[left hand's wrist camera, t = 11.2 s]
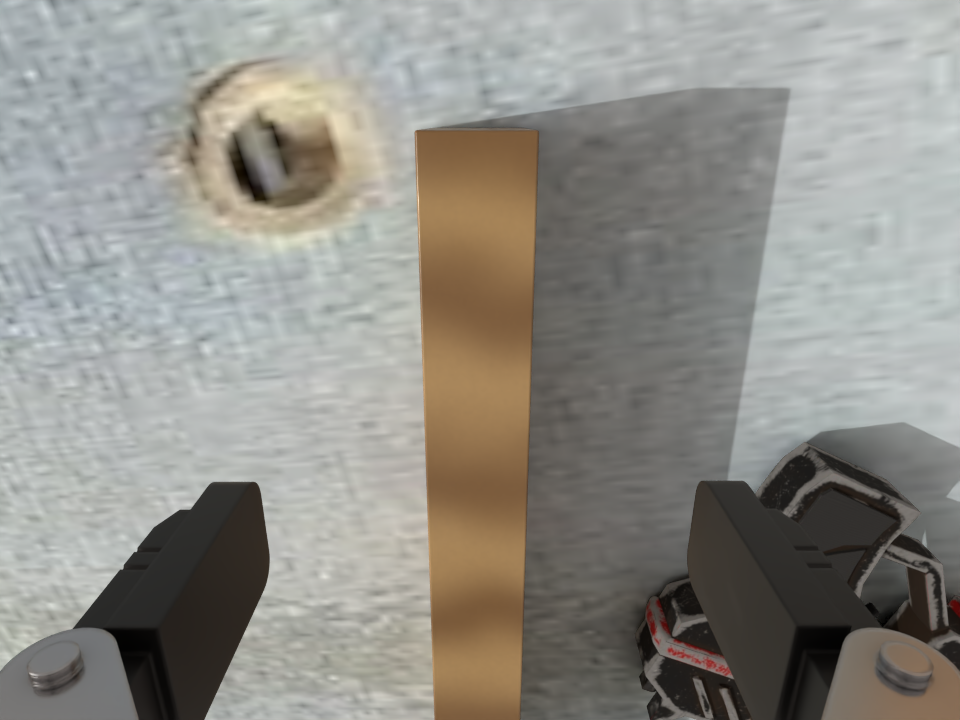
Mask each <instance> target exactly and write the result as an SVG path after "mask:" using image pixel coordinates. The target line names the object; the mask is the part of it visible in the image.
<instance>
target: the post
mask: <svg viewBox="0 0 960 720" xmlns="http://www.w3.org/2000/svg"><path fill="white" fill-rule="evenodd" d="M538 151H539V131H537V130H532V129H526V128H429V129H422V130H416V131H415V155H416V185H417V214H418V244H419V273H420V303H421V332H422V362H423V391H424V421H425V450H426V480H427V509H428V539H429V568H430V598H431V628H432V657H433V687H434V716H435V720H520V715H521V683H522V652H523V621H524V589H525V558H526V527H527V495H528V464H529V433H530V401H531V370H532V339H533V307H534V276H535V245H536V213H537V182H538Z"/></svg>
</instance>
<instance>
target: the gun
mask: <svg viewBox="0 0 960 720" xmlns="http://www.w3.org/2000/svg"><path fill="white" fill-rule="evenodd" d="M755 495H756V496H757V498H758V499H759V500H760V502H761V503H762V504H763V506H764V507H765V508H766V509H778V510H779V511H781V512H782V513H784V514H785V515H786V516H788V517H789V518H791V519H792V520H794V521H795V522H797V523H798V524H800V525H801V526H802V527H803V528H804V529H805V531H806V532H807V533H808V534H809V536H810V537H811V538H812V539H813V541H814V542H815V543H816V544H817V546H818V550H819V551H822V552H823V553H824V554H825V556H826V557H827V558H828V560H829V561H830V562H831V563H832V568H836V570H837V571H838V572H839V573H840V575H841V576H842V577H843V578H844V580H845V581H846V582H847V583H848V585H849V586H850V587H851V588H852V590H853V591H854V592H855V593H856V595H857V596H858V597H859V598H860V596H861V592H862V587H863V584H864V582H865V581H866V579H867V578H868V576H869V575H870V573H871V572H872V570H873V569H874V567H875V565H876V564H877V562H878V561H879V559H880V558H881V557H883V558H886V559H889V560H891V561H894V562H897V563H900V564H902V565H905V567H906V575H907V583H908V591H909V599H908V600H906V601H904V603H903V604H902V605H901V606H900V607H899V609H898V610H897V611H896V612H895V613H894V615H893V616H892V617H891V618H890V619H889V621H888V622H887V623H886V624H885V625H884V626H883V629H889V630H893V631H897V632H901V633H903V634H906V635H909V636H911V637H914V638H916V639H918V640H920V641H922V642H924V643H926V644H928V645H929V646H931V647H932V648H934V649H936V650H937V651H939V652H940V653H941V654H942V655H944V656H945V657H946V658H948V659H949V660H950V661H951V662H952V663H953V664H954V665H955V666H956V667H957V669H958V670H959V671H960V597H957V596H954V597H953V598H952V599H951V601H950V602H949V603H948V604H946V594H945V584H944V574H943V565H942V564H941V563H940V561H939V560H938V559H937V558H936V557H935V556H934V555H933V554H932V553H931V552H930V551H929V550H928V549H927V548H926V547H925V546H924V545H923V544H922V543H921V542H920V541H919V540H917V539H914V538H912V537H909V536H906V535H904V534H901V533H902V532H903V531H904V530H905V529H906V528H907V527H908V526H909V525H910V524H911V523H912V522H913V521H914V520H915V519H916V518H917V517H918V516H919V515H920V514H921V512H920V511H919V510H918V509H917V508H916V507H915V506H914V505H912V504H911V503H910V502H909V501H908V500H907V499H906V498H905V497H904V496H903V495H902V494H901V493H900V492H899V491H898V490H897V489H896V488H895V487H893V486H892V485H891V484H890V483H889V482H888V481H887V480H886V479H884V478H882V477H880V476H877V475H875V474H873V473H871V472H869V471H866V470H864V469H862V468H860V467H857V466H855V465H853V464H851V463H849V462H846V461H844V460H842V459H840V458H838V457H836V456H834V455H831V454H829V453H827V452H825V451H823V450H821V449H819V448H817V447H815V446H812V445H810V444H808V443H806V442H804V443H803V444H801V445H800V446H799V447H797V448H796V449H794V450H793V451H792V452H790V453H789V454H787V455H786V456H785V457H783V458H782V460H781V461H780V462H779V463H778V464H777V465H776V466H775V468H774V469H773V470H772V472H771V473H770V474H769V476H768V477H767V478H766V480H765V481H764V482H763V484H762V485H761V486H760V488H759V489H758V490H757V492H756V493H755ZM865 606H866V607H867V609H868V610H869V611H870V612H871V614H872V615H873V616H874V617H876V616H878V615H879V614H880V613H879V612H878V611H877V609H876V608H875V607H874V605H873V604H872V603H868V604H866V605H865ZM645 616H646V618H645V619H644V621H643V622H642V624H641V625H640V627H639V628H638V630H637V631H636V633H635V637H636V641H637V645H638V649H639V653H640V656H641V660H642V664H643V668H644V671H643V672H642V673H641V675H640V676H639V677H640V681H641V685H642V689H644V690H647V691H650V692H655V691H657V692H656V693H655V695H654V696H653V698H652V699H651V701H650V702H649V704H648V705H647V709H648V713H649V717H650V720H674V719H677V718H681V717H684V716H687V717H690V718H693V719H696V720H752V717H751V715H750V713H749V711H748V709H747V706H746V704H745V702H744V700H743V698H742V696H741V693H740V691H739V689H738V687H737V685H736V682H735V680H734V678H733V676H732V674H731V671H730V669H729V667H728V665H727V663H726V660H725V658H724V656H723V654H722V652H721V649H720V647H719V645H718V643H717V641H716V638H715V636H714V634H713V632H712V630H711V627H710V625H709V623H708V621H707V619H706V616H705V614H704V612H703V610H702V608H701V605H700V603H699V601H698V599H697V597H696V594H695V592H694V590H693V588H692V585H691V582H690V578H688V579H684V580H680V581H676V582H673V583H669V584H667V585H666V587H665V588H664V590H663V591H662V593H661V594H660V596H659V597H656V596H653V597H651V598H650V599H649V601H648V603H647V606H646V612H645Z"/></svg>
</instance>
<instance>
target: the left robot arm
mask: <svg viewBox="0 0 960 720" xmlns="http://www.w3.org/2000/svg"><path fill="white" fill-rule="evenodd" d="M269 562H270V557H269V547H268V540H267V533H266V526H265V519H264V512H263V505H262V498H261V492H260V488H259V486H258V484H257V483H255V482H212V483H211V484H210V485H209V486H208V487H207V488H206V490H205V491H204V492H203V494H202V495H201V496H200V498H199V499H198V500H197V502H196V503H195V504H194V506H193V507H192V509H191V510H179V511H177V512H176V513H174V514H173V515H172V516H170V517H169V518H167V519H166V520H164V521H163V522H161V523H160V524H158V525H157V526H155V527H154V528H153V529H152V531H151V532H150V533H149V534H148V536H147V537H146V538H145V539H144V541H143V542H142V543H141V544H140V546H139V547H138V550H137V552H134V553H133V554H132V556H131V557H130V558H129V559H128V561H127V562H126V563H125V564H124V568H123V570H120V571H119V572H118V573H117V574H116V576H115V577H114V578H113V579H112V580H111V582H110V583H109V584H108V585H107V587H106V588H105V589H104V590H103V592H102V593H101V594H100V595H99V597H98V598H97V599H96V600H95V602H94V603H93V604H92V605H91V607H90V608H89V609H88V610H87V612H86V613H85V614H84V615H83V617H82V618H81V619H80V620H79V622H78V623H77V624H76V625H75V627H74V628H73V629H71V630H67V631H63V632H59V633H57V634H54V635H51V636H49V637H46V638H44V639H42V640H40V641H38V642H36V643H34V644H32V645H31V646H29V647H28V648H26V649H24V650H23V651H21V652H20V653H19V654H18V655H16V656H15V657H14V658H12V659H11V660H10V661H9V662H8V663H7V664H6V665H5V666H4V667H3V669H2V670H1V671H0V720H204V719H205V717H206V715H207V712H208V710H209V708H210V706H211V704H212V702H213V699H214V697H215V695H216V693H217V691H218V689H219V686H220V684H221V682H222V680H223V678H224V676H225V673H226V671H227V669H228V667H229V665H230V663H231V660H232V658H233V656H234V654H235V652H236V649H237V647H238V645H239V643H240V641H241V639H242V636H243V634H244V632H245V630H246V628H247V626H248V623H249V621H250V619H251V617H252V615H253V613H254V610H255V608H256V606H257V604H258V602H259V600H260V597H261V595H262V593H263V591H264V588H265V586H266V583H267V578H268V573H269ZM687 564H688V573H689V578H690V582H691V585H692V588H693V590H694V592H695V594H696V597H697V599H698V601H699V603H700V605H701V608H702V610H703V612H704V614H705V616H706V619H707V621H708V623H709V625H710V627H711V630H712V632H713V634H714V636H715V638H716V641H717V643H718V645H719V647H720V649H721V652H722V654H723V656H724V658H725V660H726V663H727V665H728V667H729V669H730V671H731V674H732V676H733V678H734V680H735V682H736V685H737V687H738V689H739V691H740V693H741V696H742V698H743V700H744V702H745V704H746V706H747V709H748V711H749V713H750V715H751V717H752V720H960V671H959V670H958V669H957V667H956V666H955V665H954V664H953V663H952V662H951V661H950V660H949V659H948V658H946V657H945V656H944V655H942V654H941V653H940V652H939V651H937V650H936V649H934V648H932V647H931V646H929V645H928V644H926V643H924V642H922V641H920V640H918V639H916V638H914V637H911V636H909V635H906V634H903V633H901V632H897V631H893V630H889V629H883V627H882V626H881V625H880V624H879V622H878V621H877V620H876V619H875V617H874V616H873V615H872V614H871V612H870V611H869V610H868V609H867V607H866V606H865V605H864V604H863V602H862V601H861V600H860V598H859V597H858V596H857V595H856V593H855V592H854V591H853V590H852V588H851V587H850V586H849V585H848V583H847V582H846V581H845V580H844V578H843V577H842V576H841V575H840V573H839V572H838V571H837V570H836V568H832V563H831V562H830V561H829V560H828V558H827V557H826V556H825V554H824V553H823V552H822V551H819V550H818V546H817V544H816V543H815V542H814V541H813V539H812V538H811V537H810V536H809V534H808V533H807V532H806V531H805V529H804V528H803V527H802V526H801V525H800V524H798V523H797V522H795V521H794V520H792V519H791V518H789V517H788V516H786V515H785V514H784V513H782V512H781V511H779V510H778V509H766V508H765V507H764V506H763V504H762V503H761V502H760V500H759V499H758V498H757V496H756V495H755V494H754V492H753V491H752V490H751V488H750V487H749V485H748V484H747V483H746V482H744V481H701V482H700V483H699V484H698V486H697V490H696V495H695V502H694V509H693V516H692V523H691V530H690V537H689V545H688V553H687Z"/></svg>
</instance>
